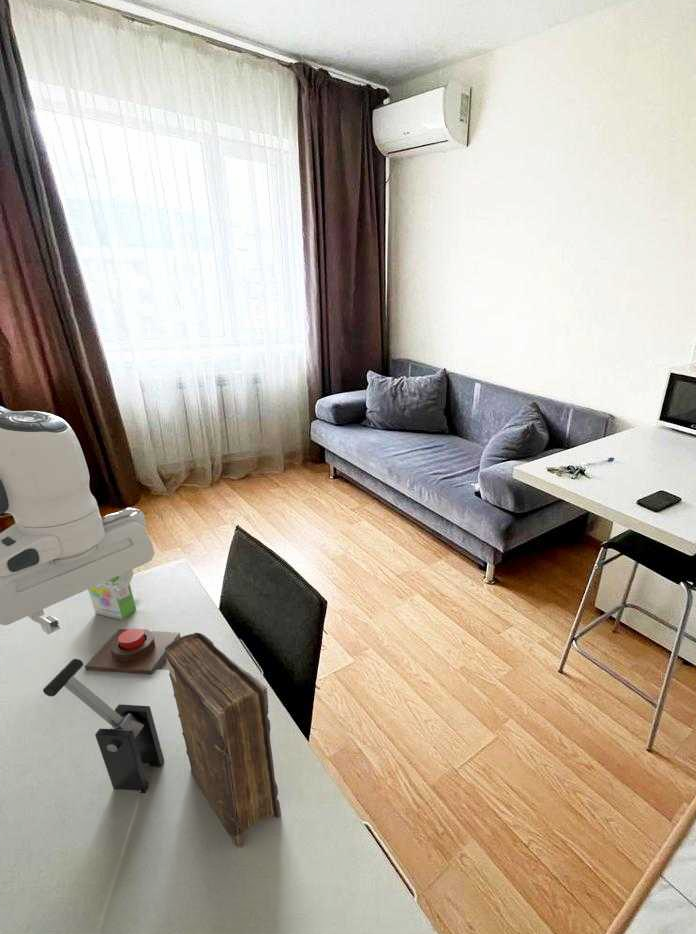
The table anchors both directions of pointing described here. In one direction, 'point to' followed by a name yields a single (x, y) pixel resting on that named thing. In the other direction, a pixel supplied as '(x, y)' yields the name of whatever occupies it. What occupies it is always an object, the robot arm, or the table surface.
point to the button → (131, 639)
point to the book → (224, 732)
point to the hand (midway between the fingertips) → (88, 612)
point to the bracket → (130, 750)
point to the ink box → (111, 600)
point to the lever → (90, 698)
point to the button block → (133, 654)
